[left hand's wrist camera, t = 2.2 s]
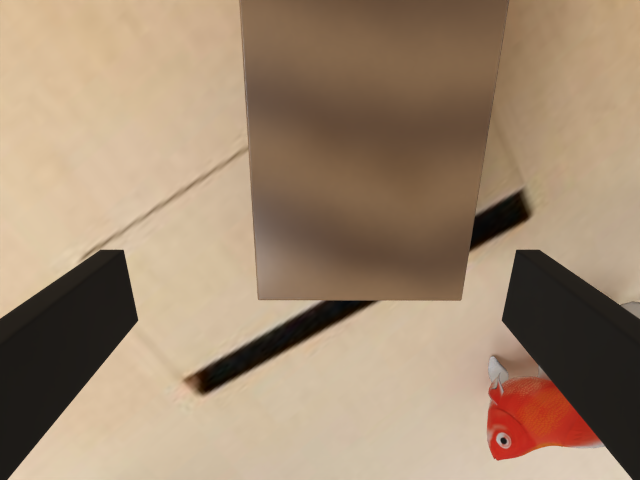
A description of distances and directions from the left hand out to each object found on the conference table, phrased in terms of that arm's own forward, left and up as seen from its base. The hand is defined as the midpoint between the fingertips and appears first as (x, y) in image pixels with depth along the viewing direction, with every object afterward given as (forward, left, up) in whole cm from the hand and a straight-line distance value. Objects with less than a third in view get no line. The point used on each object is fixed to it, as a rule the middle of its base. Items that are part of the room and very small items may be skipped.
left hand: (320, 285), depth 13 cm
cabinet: (+5, -2, -15) cm, 16 cm away
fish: (-12, -20, -15) cm, 28 cm away
